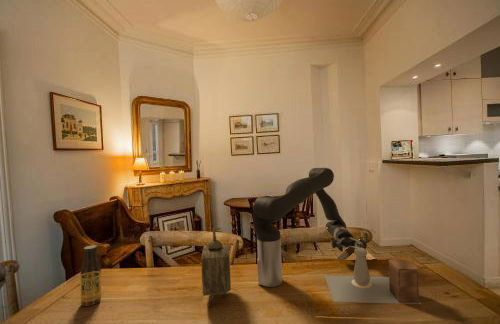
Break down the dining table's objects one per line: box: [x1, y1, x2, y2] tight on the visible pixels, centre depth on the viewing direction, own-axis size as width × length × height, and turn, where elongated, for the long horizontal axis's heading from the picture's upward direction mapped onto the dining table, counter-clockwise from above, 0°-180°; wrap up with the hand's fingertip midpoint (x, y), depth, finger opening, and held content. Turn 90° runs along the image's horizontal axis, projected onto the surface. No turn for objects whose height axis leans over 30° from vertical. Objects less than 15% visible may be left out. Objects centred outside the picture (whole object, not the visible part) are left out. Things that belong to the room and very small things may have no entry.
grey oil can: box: [201, 226, 232, 308], centre depth 90 cm, size 14×9×25 cm, turn 5°
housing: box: [388, 259, 420, 304], centre depth 85 cm, size 6×7×11 cm
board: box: [324, 275, 422, 305], centre depth 91 cm, size 27×18×1 cm, turn 83°
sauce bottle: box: [79, 244, 102, 307], centre depth 90 cm, size 7×6×20 cm
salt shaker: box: [352, 248, 370, 286], centre depth 95 cm, size 6×6×13 cm
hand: (352, 249), depth 105 cm, fingers open, 8 cm apart
